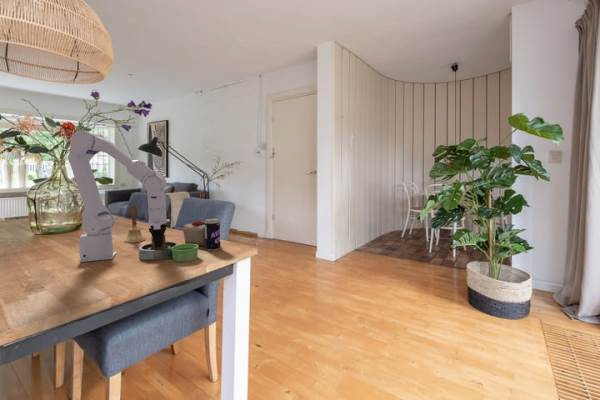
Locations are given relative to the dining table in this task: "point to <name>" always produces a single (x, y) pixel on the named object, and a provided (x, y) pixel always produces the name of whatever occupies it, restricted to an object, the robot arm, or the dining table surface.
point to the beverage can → (212, 234)
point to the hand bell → (134, 229)
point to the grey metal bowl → (156, 252)
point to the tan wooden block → (159, 247)
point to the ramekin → (185, 252)
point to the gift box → (195, 233)
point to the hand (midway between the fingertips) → (159, 245)
